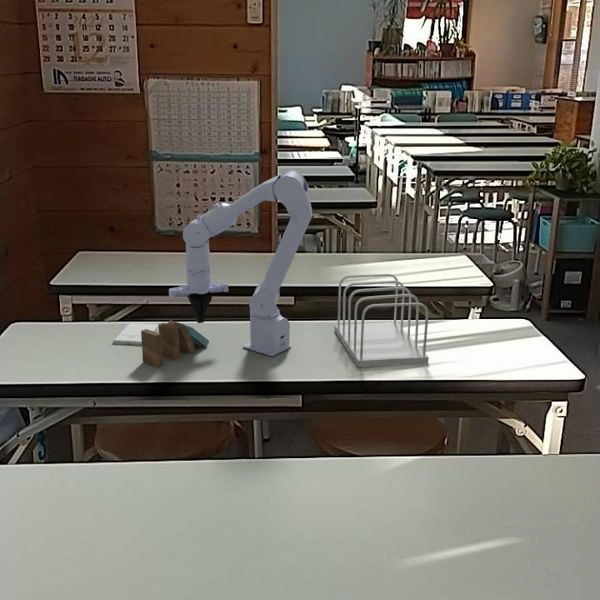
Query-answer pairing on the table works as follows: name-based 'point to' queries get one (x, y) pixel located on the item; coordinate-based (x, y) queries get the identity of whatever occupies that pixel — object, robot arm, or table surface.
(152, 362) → the domino
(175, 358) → the domino
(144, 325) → the external hard drive
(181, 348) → the domino
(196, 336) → the domino
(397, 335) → the file sorter
